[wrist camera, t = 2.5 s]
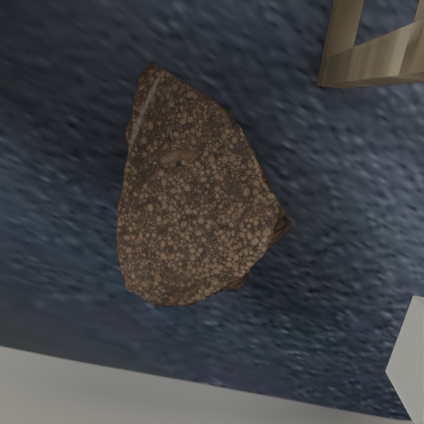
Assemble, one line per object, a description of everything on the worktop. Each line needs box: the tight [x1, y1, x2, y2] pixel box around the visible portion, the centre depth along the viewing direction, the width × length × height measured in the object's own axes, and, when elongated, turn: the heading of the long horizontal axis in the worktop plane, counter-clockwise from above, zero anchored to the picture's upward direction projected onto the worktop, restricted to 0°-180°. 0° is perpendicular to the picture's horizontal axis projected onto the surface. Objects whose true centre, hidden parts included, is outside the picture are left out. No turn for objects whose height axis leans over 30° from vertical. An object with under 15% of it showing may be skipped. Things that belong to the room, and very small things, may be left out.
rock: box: [116, 62, 292, 307], centre depth 19 cm, size 12×10×10 cm
